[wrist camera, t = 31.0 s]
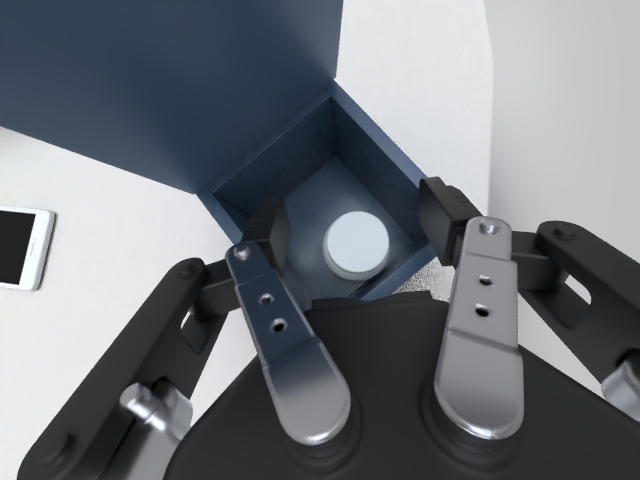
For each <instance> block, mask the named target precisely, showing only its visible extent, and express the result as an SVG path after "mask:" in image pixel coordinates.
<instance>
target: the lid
mask: <svg viewBox="0 0 640 480" xmlns="http://www.w3.org/2000/svg"><path fill="white" fill-rule="evenodd" d="M342 9H343V0H0V126H1V127H4V128H7V129H10V130H13V131H15V132H18V133H21V134H24V135H27V136H30V137H32V138H35V139H38V140H41V141H44V142H47V143H49V144H52V145H55V146H58V147H61V148H63V149H66V150H69V151H72V152H75V153H78V154H80V155H83V156H86V157H89V158H92V159H95V160H97V161H100V162H103V163H106V164H109V165H112V166H114V167H117V168H120V169H123V170H126V171H128V172H131V173H134V174H137V175H140V176H143V177H145V178H148V179H151V180H154V181H157V182H160V183H162V184H165V185H168V186H171V187H174V188H177V189H179V190H182V191H185V192H188V193H191V194H195V193H196V192H198V191H199V190H200V189H201V188H202V187H204V186H205V185H206V184H207V183H208V182H210V181H211V180H212V179H213V178H214V177H216V176H217V175H218V174H219V173H221V172H222V171H223V170H224V169H225V168H227V167H228V166H229V165H230V164H231V163H233V162H234V161H235V160H236V159H237V158H239V157H240V156H241V155H242V154H244V153H245V152H246V151H247V150H248V149H250V148H251V147H252V146H253V145H254V144H256V143H257V142H258V141H259V140H260V139H262V138H263V137H264V136H265V135H267V134H268V133H269V132H270V131H271V130H273V129H274V128H275V127H276V126H277V125H279V124H280V123H281V122H282V121H283V120H285V119H286V118H287V117H288V116H289V115H291V114H292V113H293V112H294V111H296V110H297V109H298V108H299V107H300V106H302V105H303V104H304V103H305V102H306V101H308V100H309V99H310V98H311V97H312V96H314V95H315V94H316V93H317V92H319V91H320V90H321V89H322V88H323V87H325V86H326V85H327V84H328V83H329V82H331V81H332V80H333V79H334V78H335V77H336V71H337V61H338V50H339V40H340V30H341V20H342Z"/></svg>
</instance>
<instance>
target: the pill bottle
mask: <svg viewBox="0 0 640 480" xmlns="http://www.w3.org/2000/svg"><path fill="white" fill-rule="evenodd" d="M322 252H323V256H324V259H325V262H326V264H327V265H328V267H329V268H330V270H331V271H332V272H333V273H334V274H335V275H336V276H338V277H340V278H342V279H344V280H348V281H364V280H367V279H370V278H372V277H374V276H375V275H377V274H378V273H379V272H380V271H381V270H382V269H383V268H384V266H385V265H386V263H387V261H388V258H389V254H390V242H389V236H388V233H387V230H386V228H385V226H384V225H383V223H382V222H381V221H380V220H379V219H378V218H377V217H375V216H373V215H372V214H369V213H366V212H361V211H355V212H349V213H346V214H344V215H342V216H340V217H339V218H338V219H337V220H336V221H335V222H334V223H333V224H332V225H331V226H330V227H329V228H328V230H327V231H326V233H325V235H324V238H323V243H322Z"/></svg>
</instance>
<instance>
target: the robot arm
mask: <svg viewBox="0 0 640 480" xmlns="http://www.w3.org/2000/svg"><path fill="white" fill-rule="evenodd" d="M417 217H418V220H419V222H420V224H421V226H422V228H423V230H424V232H425V234H426V236H427V238H428V240H429V242H430V244H431V245H432V247H433V249H434V251H435V253H436V255H437V257H438V259H439V261H440V263H441V265H442V266H452V265H453V267H454V269H455V270H456V271H455V275H454V280H453V284H452V289H451V293H450V298H449V302H445V301H440V300H435V299H433V298H432V296H431V293H430V291H429V290H426V291H413V292H401V293H397V294H393V295H390V296H387V297H383V298H380V299H377V300H373V301H364V300H356V299H348V298H328V299H316V300H312V309H309V310H306V311H304V312H302V311H301V310H300V308H299V306H298V305H297V303H296V301H295V300H294V298H293V296H292V295H291V293H290V291H289V290H288V288H287V286H286V285H285V283H284V281H283V276H284V270H285V264H286V258H287V252H288V246H289V241H290V234H291V228H290V222H289V218H288V214H287V210H286V206H285V202H284V199H283V196H274V197H267V198H266V200H265V203H264V206H263V208H258V209H257V210H255V211H254V212H253V213H252V214H251V216H250V219H249V222H248V224H247V226H246V227H247V228H245V231H244V233H243V236H242V238H241V241H240V243H238V244H235V245H234V246H232V247H231V248H230V249H229V250H228V251H227V252H226V254H225V259H223V260H221V261H218V262H214V263H211V264H208V265H205V264H204V262H203V260H202V259H200V258H189V259H185V260H183V261H181V262H179V263H177V264H175V265H174V266H173V267H172V268H171V269H170V270H169V271H168V272H167V274H166V275H165V276H164V277H163V279H162V280H161V281H160V283H159V284H158V285H157V286H156V288H155V289H154V290H153V292H152V293H151V294H150V295H149V297H148V298H147V299H146V301H145V302H144V303H143V304H142V306H141V307H140V308H139V310H138V311H137V312H136V313H135V315H134V316H133V317H132V319H131V320H130V321H129V322H128V324H127V325H126V326H125V328H124V329H123V330H122V331H121V333H120V334H119V335H118V337H117V338H116V339H115V340H114V342H113V343H112V344H111V346H110V347H109V348H108V349H107V351H106V352H105V353H104V355H103V356H102V357H101V358H100V360H99V361H98V362H97V364H96V365H95V366H94V367H93V369H92V370H91V371H90V373H89V374H88V375H87V376H86V378H85V379H84V380H83V381H82V383H81V384H80V385H79V387H78V388H77V389H76V390H75V392H74V393H73V394H72V396H71V397H70V398H69V399H68V401H67V402H66V403H65V405H64V406H63V407H62V408H61V410H60V411H59V412H58V414H57V415H56V416H55V417H54V419H53V420H52V421H51V423H50V424H49V425H48V426H47V428H46V429H45V430H44V432H43V433H42V434H41V435H40V437H39V438H38V439H37V441H36V442H35V443H34V444H33V446H32V447H31V448H30V450H29V451H28V453H27V454H26V456H25V457H24V459H23V461H22V463H21V465H20V468H19V471H18V475H17V480H640V264H639V263H638V262H636V261H635V260H633V259H632V258H630V257H628V256H627V255H625V254H624V253H622V252H621V251H619V250H617V249H616V248H614V247H613V246H611V245H609V244H608V243H607V242H605V241H603V240H602V239H600V238H599V237H597V236H595V235H594V234H592V233H591V232H589V231H588V230H586V229H584V228H583V227H581V226H579V225H576V224H573V223H569V222H564V221H546V222H543V223H541V224H540V225H539V227H538V229H537V231H536V233H530V232H519V231H512V230H511V227H510V225H509V224H508V223H506V222H505V221H502V220H501V219H498V218H494V217H488V216H483V215H482V214H481V213H480V212H479V211H478V210H477V208H476V207H475V206H474V205H473V204H472V203H471V202H470V201H469V199H468V198H467V197H466V196H465V195H464V194H463V193H462V192H461V191H460V190H459V189H457V188H455V187H453V186H451V185H450V186H446V185H445V184H444V182H443V181H442V180H441V179H440V178H439V177H438V176H437V177H429V178H421V179H420V182H419V190H418V201H417ZM569 274H570V275H571V276H572V277H573V278H575V279H576V280H577V281H578V282H580V283H581V284H582V285H583V286H584V287H585V288H586V289H587V290H588V291H589V293H590V295H591V304H590V305H589V304H588V303H587V302H586V301H585V300H584V299H582V298H581V297H580V296H579V295H578V294H577V293H576V292H575V291H573V290H572V289H571V288H570V287H569V286H568V285H567V284H566V283H565V281H566V279H567V278H568V276H569ZM517 291H518V293H519V294H520V295H521V296H522V297H523V298H524V299H525V300H526V301H527V302H528V304H529V305H530V306H531V307H532V308H533V309H534V310H535V311H536V312H537V314H538V315H539V316H540V317H541V318H542V319H543V320H544V321H545V323H546V324H547V325H548V326H549V327H550V328H551V329H552V330H553V331H554V332H555V334H556V335H557V336H558V337H559V338H560V339H561V340H562V341H563V342H564V344H565V345H566V346H567V347H568V348H569V349H570V350H571V351H572V353H573V354H574V355H575V356H576V357H577V358H578V359H579V360H580V362H581V363H582V364H583V365H584V366H585V367H586V368H587V369H588V370H589V372H590V373H591V374H592V375H593V376H594V377H595V378H596V379H597V380H598V382H599V383H600V384H601V390H602V393H603V396H604V398H605V399H603V398H601V397H600V396H598V395H597V394H595V393H593V392H592V391H591V390H589V389H587V388H586V387H584V386H583V385H581V384H580V383H578V382H577V381H575V380H574V379H572V378H570V377H569V376H567V375H566V374H564V373H563V372H561V371H560V370H558V369H556V368H555V367H553V366H552V365H550V364H549V363H547V362H545V361H544V360H543V359H541V358H539V357H538V356H536V355H535V354H533V353H532V352H530V351H529V350H527V349H525V348H524V347H522V346H521V345H519V344H518V312H517V311H518V305H517V302H518V301H517ZM240 307H241V308H242V311H243V314H244V317H245V320H246V322H247V325H248V328H249V331H250V334H251V337H252V339H253V342H254V345H255V348H256V351H257V353H258V354H257V355H256V356H255V357H254V358H253V360H252V361H251V362H250V363H249V364H248V365H247V366H246V367H245V368H244V370H243V371H242V372H241V373H240V374H239V375H238V376H237V377H236V378H235V380H234V381H233V382H232V383H231V384H230V385H229V386H228V387H227V388H226V390H225V391H224V392H223V393H222V394H221V395H220V396H219V397H218V398H217V400H216V401H215V402H214V403H213V404H212V405H211V406H210V407H209V408H208V409H207V411H206V412H205V413H204V414H203V415H202V416H201V417H200V418H199V419H198V421H197V422H196V423H195V424H194V425H193V426H192V427H191V426H190V423H191V419H192V415H193V408H192V404H191V402H190V401H189V400H190V398H191V396H192V394H193V391H194V389H195V387H196V385H197V382H198V380H199V378H200V376H201V373H202V371H203V369H204V367H205V365H206V362H207V360H208V358H209V356H210V353H211V351H212V349H213V347H214V344H215V342H216V340H217V338H218V335H219V333H220V331H221V329H222V327H223V324H224V322H225V320H226V318H227V315H228V313H229V311H232V310H235V309H238V308H240ZM188 311H189V312H190V315H189V317H188V319H187V320H186V322H185V324H184V326H183V327H182V329H181V324H182V321H183V319H184V318H185V316H186V314H187V312H188Z"/></svg>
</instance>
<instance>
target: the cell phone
mask: <svg viewBox="0 0 640 480" xmlns="http://www.w3.org/2000/svg"><path fill="white" fill-rule="evenodd" d="M54 218H55V214H54V212H52V211H47V210H37V209H28V208H18V207H8V206H0V287H7V288H14V289H21V290H36V289H37V288H38V286H39V283H40V279H41V275H42V271H43V266H44V262H45V258H46V253H47V249H48V245H49V240H50V236H51V232H52V228H53V223H54Z"/></svg>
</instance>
